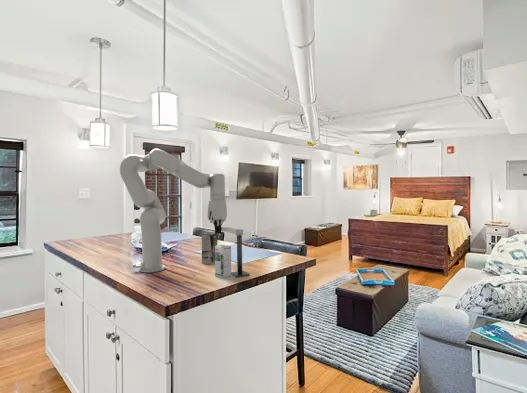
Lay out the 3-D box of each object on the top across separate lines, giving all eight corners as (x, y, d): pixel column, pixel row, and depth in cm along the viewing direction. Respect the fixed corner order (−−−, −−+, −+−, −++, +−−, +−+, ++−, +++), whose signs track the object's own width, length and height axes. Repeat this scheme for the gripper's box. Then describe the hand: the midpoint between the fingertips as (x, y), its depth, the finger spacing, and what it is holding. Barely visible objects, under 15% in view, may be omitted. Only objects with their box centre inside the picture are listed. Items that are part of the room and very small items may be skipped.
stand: (236, 277, 147) (235, 237, 146) (230, 274, 153) (229, 235, 152) (249, 275, 150) (249, 235, 150) (243, 272, 156) (242, 233, 156)
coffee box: (212, 264, 173) (212, 235, 172) (201, 264, 174) (201, 234, 174) (218, 260, 182) (217, 232, 181) (207, 260, 183) (207, 232, 182)
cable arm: (244, 234, 150) (244, 229, 150) (237, 235, 149) (237, 230, 148) (219, 228, 173) (219, 224, 173) (213, 229, 171) (213, 225, 171)
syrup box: (214, 276, 150) (214, 245, 150) (224, 273, 154) (224, 244, 154) (221, 278, 146) (221, 247, 146) (231, 275, 150) (231, 245, 150)
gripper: (222, 197, 171) (222, 230, 171) (201, 198, 158) (202, 234, 159) (232, 197, 166) (233, 232, 167) (212, 198, 154) (213, 235, 155)
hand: (218, 233), depth 163 cm, fingers closed
